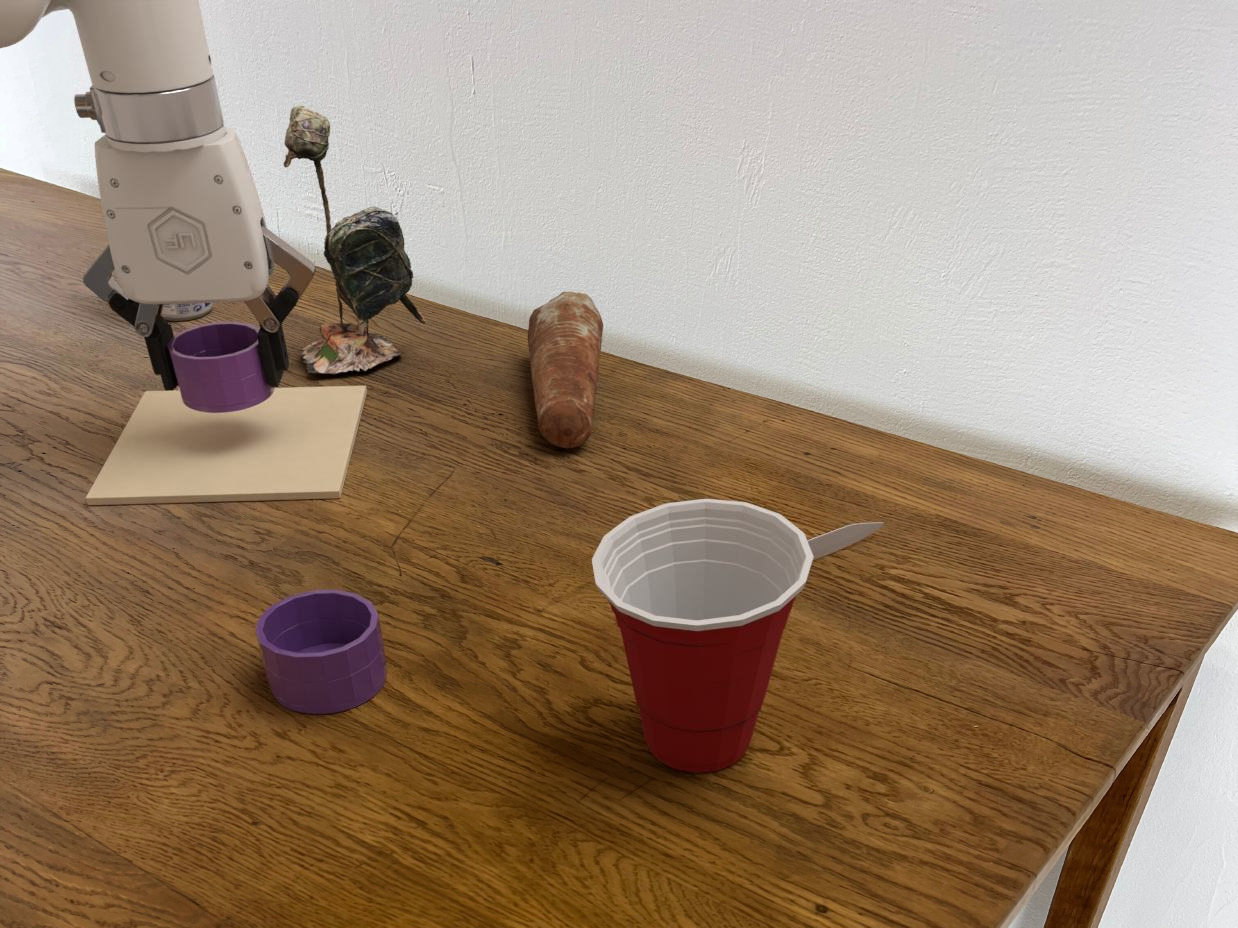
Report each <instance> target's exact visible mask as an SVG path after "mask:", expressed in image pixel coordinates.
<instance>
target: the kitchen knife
mask: <svg viewBox="0 0 1238 928" xmlns="http://www.w3.org/2000/svg"><path fill="white" fill-rule="evenodd" d="M885 524H886V522H883V521H878V522H877V521H873V522H860V523H853V524H848V525H844V526H842V527H840V528H837V529H834V530H831V531H829V532H825V533H824V534H821V535H818V536H816V537H812V538H810V539H807V541H808V544H809V546H810V549H811V551H812V554H813V556H814V557H813V561H815V560H818V559H820V558H823V557H825V556H829V555H831V554H834V553H836V552H839V551H841V550H842V549H845V548H847V547H849V546H852V545H854V544H857V543H858V542H860V541H862V540H863V539H865V538H867V537H868V536H870V535H872V534H873V533H875V532H877V531H878V530H879V529H881V527H883V526H884V525H885Z"/></svg>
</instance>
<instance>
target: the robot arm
mask: <svg viewBox="0 0 1238 928" xmlns="http://www.w3.org/2000/svg"><path fill="white" fill-rule="evenodd" d="M65 10H69V11H70V12H71V14H72V16H73V19H74V22H75V26H76V29H77V34H78V37H79V41H80V45H81V48H82V52H83V56H84V59H85V63H86V67H87V70H88V71H87V72H88V74H89V79H90V82H91V86H90V87H89V91H86V92H85V93H80V94H78V93H77V94H74V98H73V99H74V100H73V102H74V103H73V104H74V107H75V111H76V114H77V116H78V117H79V118H80V119H91V120H92V121H96V122H97V124H98V125H99V129H100V133H101V134H104V135H102V136H101V137H100V138H98V139H97V140H96V141H94V157H95V168H96V177H97V184H98V191H99V197H100V203H101V204H100V205H101V209H102V215H103V221H104V225H105V230H106V235H107V241H108V244H107V245H106V246H105V248H104V249H103V250H102V252H101V253H99V255H98V257H97V258H96V259H95V260H94V262H93V263H92V264H91V265H90V266H89V267H88V269H87V270H86V272H85V273H84V274H83V276H82V283H83V284H84V286H85V287H87V288H88V289H89V290H90V291H92V293H94V295H96V296H97V297H99V298H100V299H101V300H102V301H103V302H106V303H107V304H108V305H109V308H110V309H111V311H113V312H114V313H115V314H116V315H118V316H119V317H120V318H122V319H123V320H125V322H127V323H129V324H130V325H131V326H133V327H134V330H135V333H136V334H138V335H139V336H141V337H143V338H144V342H145V346H146V349H147V353H148V356H149V360H150V364H151V367H152V370H153V373H154V375H155V376H160V378H161V383H162V385H163V389H164V391H173V390H176V389H177V388H178V386H177V383H176V379H175V375H174V371H173V367H172V364H171V360H170V356H169V352H168V349H167V344H168V342H169V341H170V339H171V338H172V337H173V336H175V334H174V332H173V327H172V325H171V324H170V323H169V320H165V319H164V318H163V317H162V316H161V314H162V310H163V306H164V304H190V303H213V304H215V303H237V302H244V304H245V305H246V306H247V308H248V309H249V310H250V312H251V313H252V315H253V316H254V317H255V318H256V321H257V322H258V323H259V328H260V329H259V332H258V334H257V339H258V344H259V348H260V353H261V358H262V362H263V367H264V371H265V376H266V381H267V385H270V387H274V388H279V386H280V383H281V380H282V379H283V376H284V373H285V371H288V370H289V367H290V359H289V352H288V347H287V343H286V338H285V334H284V333H285V332H284V328H283V322H284V321H285V320H286V318H287V317H288V316H289V315H290V314H291V312H292V311H293V309H294V308H296V305H297V304H298V302H299V300H300V299H301V297H302V295H303V294H304V293H305V291H306V290H307V288H308V287H309V285H310V283H311V282H312V280H313V279H314V276H315V273H316V271H317V268H316V267H317V266H316V265H315V263H314V262H313V261H311V260H310V259H309V258H307V257H306V256H305V255H304V254H302V253H301V252H299V251H298V250H297V249H296V248H294V247H292V246H291V245H290V244H289V243H287V242H286V241H284V240H283V239H282V238H281V237H279V236H278V235H277V234H275V233H274V232H272V231H271V230H269V228H268V225H267V222H266V217H265V214H264V210H263V206H262V202H261V199H260V196H259V194H258V189H257V186H256V183H255V180H254V177H253V174H252V171H251V168H250V165H249V162H248V159H247V156H246V154H245V152H244V149H243V146H242V143H241V141H240V139H239V136H238V134H237V132H236V129H235V128H233V127H232V126H227V125H225V122H224V121H225V120H224V116H223V112H222V105H221V101H220V97H219V92H218V86H217V82H216V78H215V74H214V69H213V64H212V63H213V62H212V58H211V54H210V50H209V45H208V41H207V40H208V39H207V37H206V36H207V35H206V31H205V27H204V20H203V16H202V10H201V7H200V1H199V0H0V49H4V48H7V47H11V46H13V45H16V44H18V43H19V42H21V41H22V40H24V39H25V38H27V36H29V35H30V34H31V33H32V32H33V31H34V30H35V29H36V27H37V25H38V24H39V22H40V21H41V20H42V19H43V18H44V17H46V16H48V15H49V14H51V13H53V12H57V11H58V12H59V11H65ZM275 264H276V265H277V266H279V267H280V268H281V269H282V270H283V271H285V272H286V273H287V274H288V277H289V278H288V279H287V281H286V283H285V284H284V285H283V287H282V288H281V289H280V291H279V292H278V293H277V294H275V292H274V291H273V289H272V288H271V286H269V281H270V280H269V279H270V276H271V275H272V274H273V273H274V270H275ZM114 271H115V275H116V279H117V281H116V280H115V279H114V277H113V272H114Z"/></svg>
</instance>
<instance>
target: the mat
mask: <svg viewBox="0 0 1238 928" xmlns="http://www.w3.org/2000/svg"><path fill="white" fill-rule="evenodd" d="M367 394H368V388H367V385H336V386H335V385H332V386H331V385H330V386H295V387H293V386H292V387H291V386H290V387H274V392H273V394H272V395H271V396H270V397H269V398H268V399H267V400H265V401H264V402H262V403H260V404H258V405H256V406H253V407H250V408H247V409H243V410H239V411H233V412H225V413H207V412H200V411H196V410H193V409H191V408H189V407H187V406H186V405H184V403H183V402H182V399H181V395H180V393H179V390H178V389H177V390H176V389H174V390H173V391H165V390H145V391H144V393H143V394H142V396H141V398H140V399H139V402H138V404H137V405H136V406H135V408H134V410H133V412H132V414H131V416H130V418H129V420H128V421H127V423H126V425H125V426H124V428H123V430H122V432H121V433H120V436H119V438H118V439H117V441H116V442H115V444H114V447H113V448H112V450H111V452H110V454H109V455H108V457H107V458H106V461H105V463H104V464H103V466H102V468H101V469H100V471H99V473H98V475H97V476H96V478H95V480H94V482H93V484H92V486H91V487H90V489H89V491H88V492H87V494H86V496H85V501H86V504H87V506H112V505H113V506H115V505H116V506H117V505H150V504H151V505H152V504H153V505H154V504H182V503H183V504H187V503H218V502H219V503H221V502H222V503H223V502H255V501H256V502H257V501H289V500H290V501H292V500H293V501H295V500H296V501H297V500H324V499H325V500H326V499H327V500H331V499H341V497H342V494H343V490H344V486H345V482H346V477H347V473H348V470H349V465H350V461H351V457H352V453H353V450H354V447H355V442H356V438H357V434H358V431H359V427H360V426H359V425H360V422H361V419H362V414H363V410H364V407H365V402H366V398H367Z"/></svg>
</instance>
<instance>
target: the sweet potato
mask: <svg viewBox="0 0 1238 928" xmlns="http://www.w3.org/2000/svg"><path fill="white" fill-rule="evenodd" d="M595 304H596V303H595V302H594V301H593V299H592V298H591V297H590V296H589V295H588V294H587V293H582V292H575V291H562V292H561V293H560V294H558V295H557V296H555V297H553V298H551V299H550V300H549V301H548V302H545V303H544V304H542V305H541V306H539V307H537V308H535V309H534V310H533V311H532V313H531V314H530V317H529V319H528V328H527V346H528V357H529V364H530V374H531V380H532V389H533V398H534V405H535V410H536V416H537V423H538V424H537V425H538V430H539V432H540V434H541V436H542V437H543V439H544V440H546V441H547V442H548V443H549V444H551V445H553V447H554V446H555V447H558V448H562V449H575V448H577V447H580V446H581V445H583V444H584V443H585V442H587V441H588V439H589V438H590V436H591V435H592V431H593V419H594V409H595V401H596V393H597V387H598V377H599V368H600V357H601V352H602V343H603V332H604V322H603V319H602V316H601V313H600V311H599V310H598V308H597V307H596V305H595Z"/></svg>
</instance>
